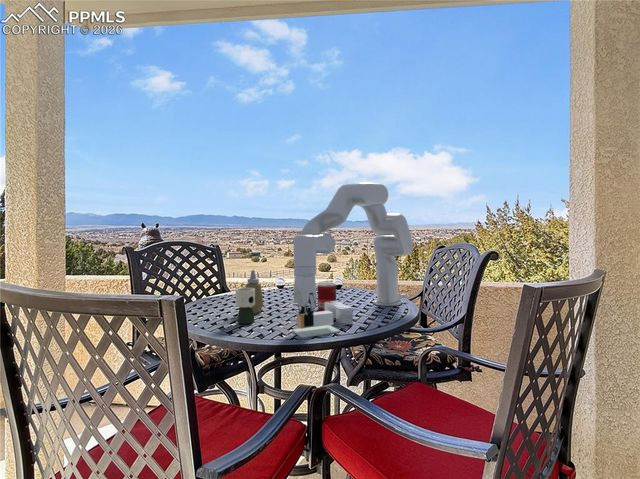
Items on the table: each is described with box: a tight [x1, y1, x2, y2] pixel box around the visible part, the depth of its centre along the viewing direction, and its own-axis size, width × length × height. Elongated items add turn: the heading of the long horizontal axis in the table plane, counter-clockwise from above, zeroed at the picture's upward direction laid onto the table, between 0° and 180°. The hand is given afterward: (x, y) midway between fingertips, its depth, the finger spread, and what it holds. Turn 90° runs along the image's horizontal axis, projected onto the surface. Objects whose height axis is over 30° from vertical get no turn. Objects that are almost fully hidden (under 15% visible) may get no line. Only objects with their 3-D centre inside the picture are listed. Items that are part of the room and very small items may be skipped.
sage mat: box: [291, 325, 341, 339], centre depth 133 cm, size 14×9×1 cm, turn 114°
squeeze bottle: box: [244, 269, 264, 315], centre depth 164 cm, size 8×8×18 cm
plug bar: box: [296, 310, 334, 329], centre depth 133 cm, size 12×4×4 cm, turn 114°
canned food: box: [316, 282, 337, 311], centre depth 167 cm, size 8×8×11 cm
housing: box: [324, 300, 354, 326], centre depth 147 cm, size 5×14×6 cm, turn 24°
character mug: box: [235, 287, 255, 325], centre depth 146 cm, size 11×7×13 cm, turn 171°
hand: (306, 324), depth 131 cm, fingers closed on plug bar, 4 cm apart
